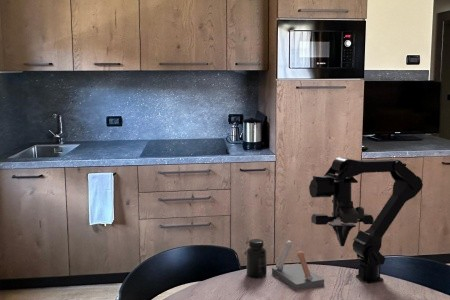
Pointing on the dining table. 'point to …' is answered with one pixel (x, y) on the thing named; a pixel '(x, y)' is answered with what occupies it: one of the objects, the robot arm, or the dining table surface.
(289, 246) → the pale grey lever
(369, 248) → the robot arm
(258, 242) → the supplement bottle
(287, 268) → the switch panel
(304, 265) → the terracotta lever
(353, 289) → the dining table surface
